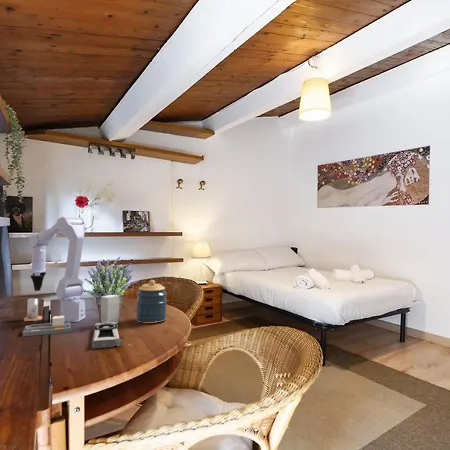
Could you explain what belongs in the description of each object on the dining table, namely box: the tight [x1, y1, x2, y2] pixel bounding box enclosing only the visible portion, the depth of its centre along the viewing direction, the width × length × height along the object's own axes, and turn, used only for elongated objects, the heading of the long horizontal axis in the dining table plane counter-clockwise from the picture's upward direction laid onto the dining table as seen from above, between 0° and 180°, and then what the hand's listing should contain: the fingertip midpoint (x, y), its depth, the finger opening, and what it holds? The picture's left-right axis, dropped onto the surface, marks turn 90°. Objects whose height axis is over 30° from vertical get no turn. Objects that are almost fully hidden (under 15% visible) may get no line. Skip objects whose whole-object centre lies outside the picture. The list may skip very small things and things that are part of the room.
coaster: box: [23, 315, 43, 322], centre depth 155 cm, size 7×7×1 cm
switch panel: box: [22, 321, 72, 337], centre depth 139 cm, size 16×9×2 cm, turn 113°
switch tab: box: [51, 315, 65, 326], centre depth 140 cm, size 4×4×3 cm
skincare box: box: [100, 294, 120, 323], centre depth 148 cm, size 6×4×12 cm
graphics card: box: [91, 322, 124, 350], centre depth 132 cm, size 10×3×25 cm
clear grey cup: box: [26, 297, 39, 319], centre depth 155 cm, size 4×4×8 cm
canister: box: [135, 279, 168, 322], centre depth 157 cm, size 13×13×18 cm
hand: (38, 289), depth 168 cm, fingers open, 7 cm apart
